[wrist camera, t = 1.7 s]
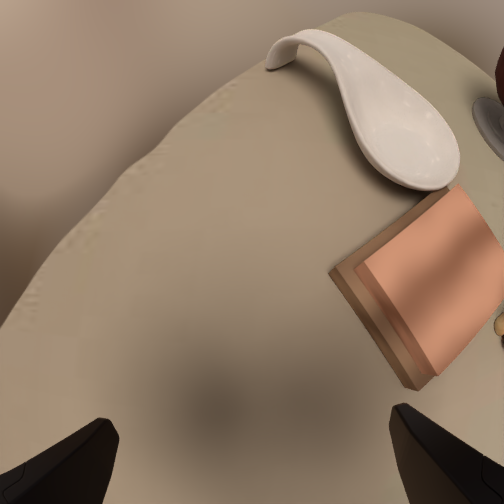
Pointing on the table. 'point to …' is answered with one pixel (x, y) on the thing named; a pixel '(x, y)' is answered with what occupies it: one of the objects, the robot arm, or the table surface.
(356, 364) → the table surface
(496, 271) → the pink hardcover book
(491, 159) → the table surface
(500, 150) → the mate gourd
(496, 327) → the grandmother figurine
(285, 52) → the spoon rest
